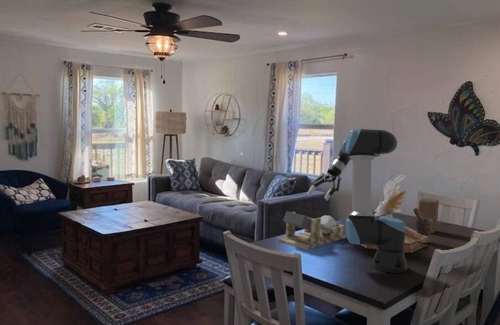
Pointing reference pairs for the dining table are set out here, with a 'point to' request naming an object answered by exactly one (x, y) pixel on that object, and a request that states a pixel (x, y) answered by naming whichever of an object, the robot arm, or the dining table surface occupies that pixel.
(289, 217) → the grey flat box
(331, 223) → the lidded jar
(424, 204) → the block
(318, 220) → the stand
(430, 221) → the mortar and pestle
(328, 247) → the dining table surface
